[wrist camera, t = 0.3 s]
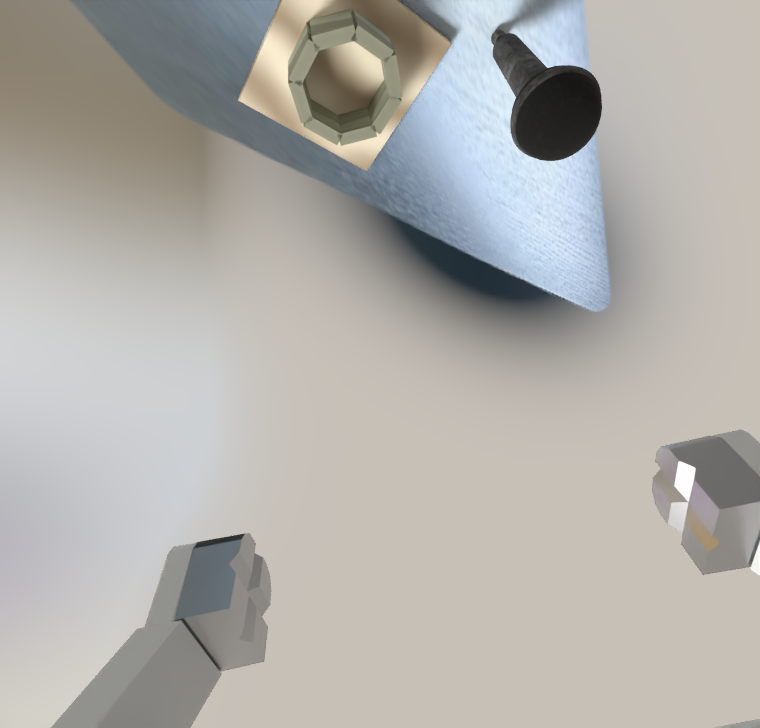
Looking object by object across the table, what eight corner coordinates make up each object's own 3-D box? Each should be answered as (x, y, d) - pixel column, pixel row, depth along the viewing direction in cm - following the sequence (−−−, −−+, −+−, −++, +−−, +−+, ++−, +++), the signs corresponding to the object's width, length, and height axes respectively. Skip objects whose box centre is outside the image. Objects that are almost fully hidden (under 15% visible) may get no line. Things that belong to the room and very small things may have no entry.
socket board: (310, -69, 42) (312, -53, 38) (448, 39, 49) (460, 60, 46) (239, 95, 51) (236, 119, 47) (365, 165, 58) (370, 190, 55)
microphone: (543, 36, 50) (632, 135, 37) (485, 88, 53) (549, 195, 41) (509, -26, 46) (596, 62, 33) (447, 34, 49) (506, 135, 36)
